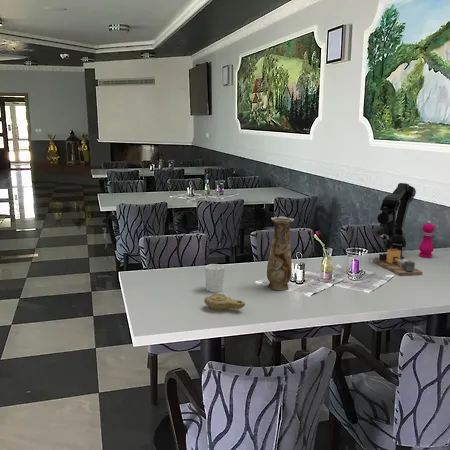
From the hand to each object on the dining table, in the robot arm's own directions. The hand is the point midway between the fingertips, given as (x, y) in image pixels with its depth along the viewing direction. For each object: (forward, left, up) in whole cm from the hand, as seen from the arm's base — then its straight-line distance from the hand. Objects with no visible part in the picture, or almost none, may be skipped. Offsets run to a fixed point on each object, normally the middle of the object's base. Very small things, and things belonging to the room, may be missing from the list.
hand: (386, 251), depth 248 cm
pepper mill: (-8, +29, -6) cm, 31 cm away
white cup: (+27, -96, -6) cm, 100 cm away
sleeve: (+7, 0, -4) cm, 8 cm away
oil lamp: (+49, -97, -6) cm, 109 cm away
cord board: (+10, 0, -6) cm, 12 cm away
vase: (+28, -68, -6) cm, 74 cm away
